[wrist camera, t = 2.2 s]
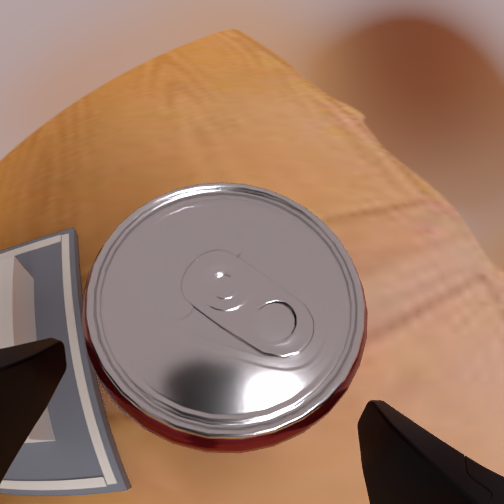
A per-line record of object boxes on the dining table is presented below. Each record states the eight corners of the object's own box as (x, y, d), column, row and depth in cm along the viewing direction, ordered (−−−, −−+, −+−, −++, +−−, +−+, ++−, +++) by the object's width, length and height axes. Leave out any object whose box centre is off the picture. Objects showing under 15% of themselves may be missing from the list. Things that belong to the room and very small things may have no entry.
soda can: (131, 377, 16) (24, 287, 6) (212, 298, 19) (218, 142, 9) (225, 460, 14) (252, 521, 4) (302, 369, 18) (416, 275, 8)
